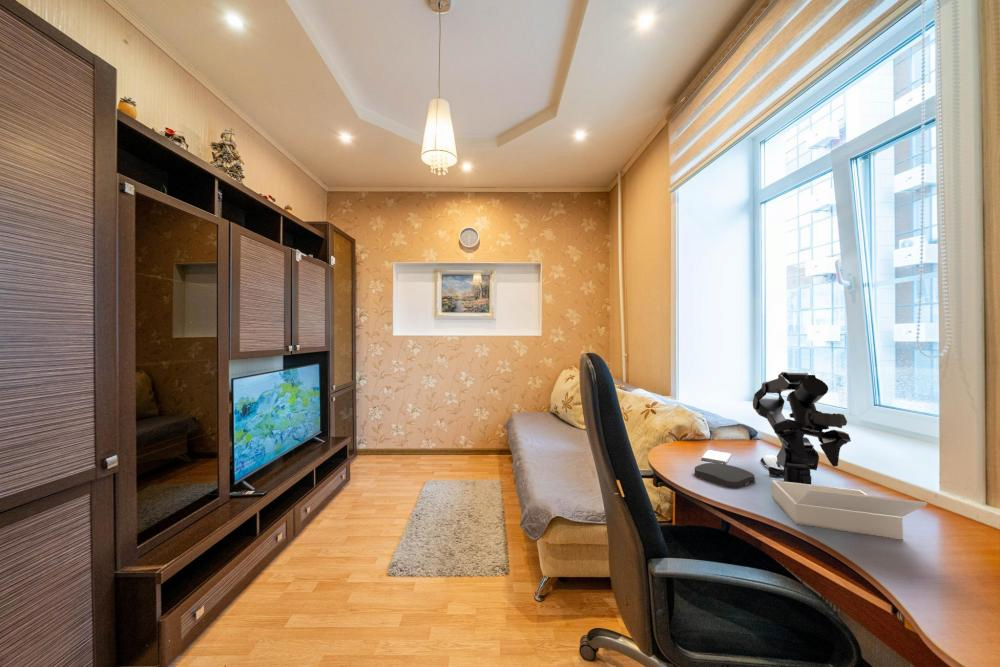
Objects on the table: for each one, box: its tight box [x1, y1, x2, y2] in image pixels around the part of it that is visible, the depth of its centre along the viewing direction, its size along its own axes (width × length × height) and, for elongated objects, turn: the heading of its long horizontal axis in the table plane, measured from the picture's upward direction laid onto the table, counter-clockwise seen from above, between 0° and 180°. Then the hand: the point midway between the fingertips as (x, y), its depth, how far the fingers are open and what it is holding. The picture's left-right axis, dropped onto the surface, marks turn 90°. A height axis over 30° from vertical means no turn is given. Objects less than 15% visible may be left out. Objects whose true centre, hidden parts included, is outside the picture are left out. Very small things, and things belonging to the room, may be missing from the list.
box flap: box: [796, 489, 928, 518], centre depth 81 cm, size 1×20×10 cm
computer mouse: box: [759, 454, 784, 477], centre depth 126 cm, size 10×18×4 cm, turn 162°
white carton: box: [771, 479, 904, 540], centre depth 92 cm, size 16×20×5 cm
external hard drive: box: [700, 449, 732, 465], centre depth 138 cm, size 2×8×12 cm
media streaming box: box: [694, 462, 756, 489], centre depth 118 cm, size 15×15×3 cm
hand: (820, 462), depth 97 cm, fingers open, 9 cm apart
